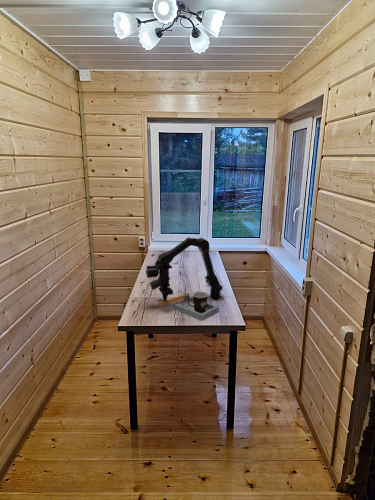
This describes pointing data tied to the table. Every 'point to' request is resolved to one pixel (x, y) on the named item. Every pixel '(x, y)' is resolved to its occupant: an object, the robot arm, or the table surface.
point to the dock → (195, 314)
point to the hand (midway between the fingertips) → (164, 300)
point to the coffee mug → (199, 301)
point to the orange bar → (174, 299)
